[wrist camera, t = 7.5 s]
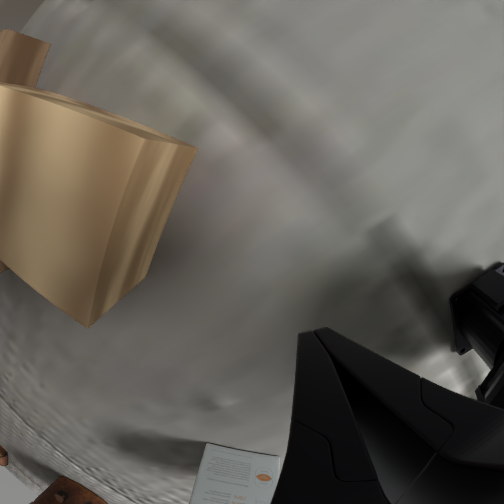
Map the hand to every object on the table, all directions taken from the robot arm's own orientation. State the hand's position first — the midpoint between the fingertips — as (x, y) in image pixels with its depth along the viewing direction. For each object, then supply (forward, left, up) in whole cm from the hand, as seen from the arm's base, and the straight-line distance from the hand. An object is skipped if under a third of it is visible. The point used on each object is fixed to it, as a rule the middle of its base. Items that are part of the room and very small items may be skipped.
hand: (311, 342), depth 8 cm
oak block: (+12, +12, -12) cm, 20 cm away
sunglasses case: (-21, +104, -12) cm, 106 cm away
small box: (-20, +16, -12) cm, 28 cm away
